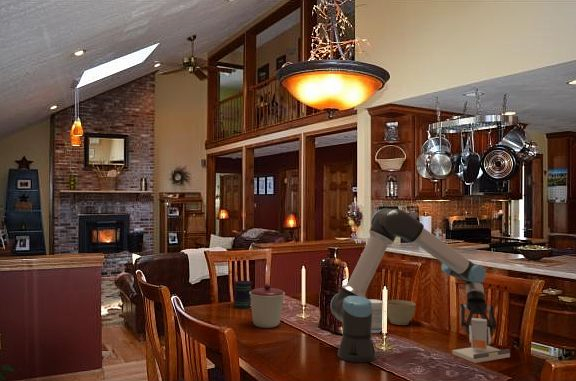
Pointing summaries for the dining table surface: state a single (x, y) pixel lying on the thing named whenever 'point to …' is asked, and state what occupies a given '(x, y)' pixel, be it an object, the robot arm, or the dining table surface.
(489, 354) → the flat cream box
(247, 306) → the storage jar
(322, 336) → the dining table surface
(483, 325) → the skincare box
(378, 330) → the supplement tub
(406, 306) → the planter bowl
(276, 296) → the canister
